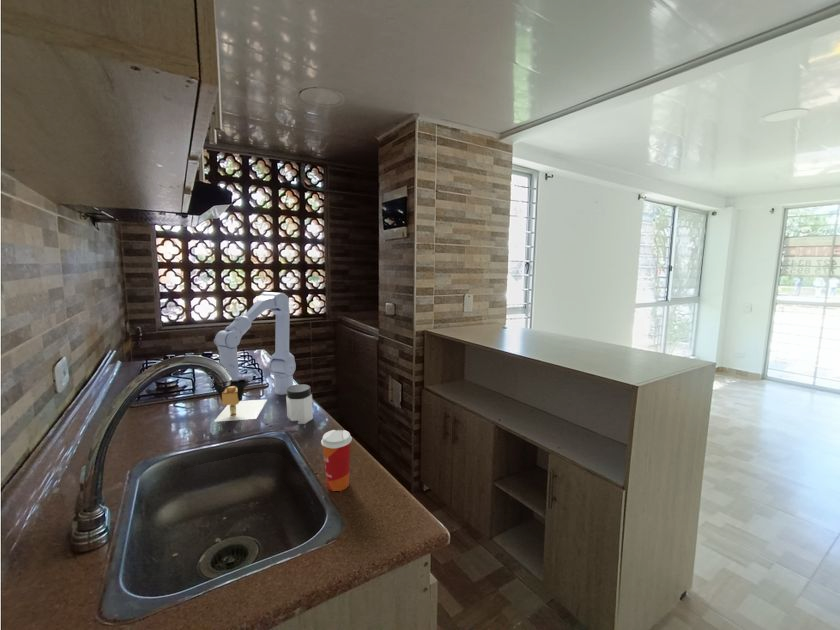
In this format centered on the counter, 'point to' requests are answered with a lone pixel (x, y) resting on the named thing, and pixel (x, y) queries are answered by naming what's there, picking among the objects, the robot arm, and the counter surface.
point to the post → (233, 410)
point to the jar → (299, 403)
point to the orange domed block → (230, 396)
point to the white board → (242, 411)
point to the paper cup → (337, 458)
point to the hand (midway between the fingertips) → (232, 400)
